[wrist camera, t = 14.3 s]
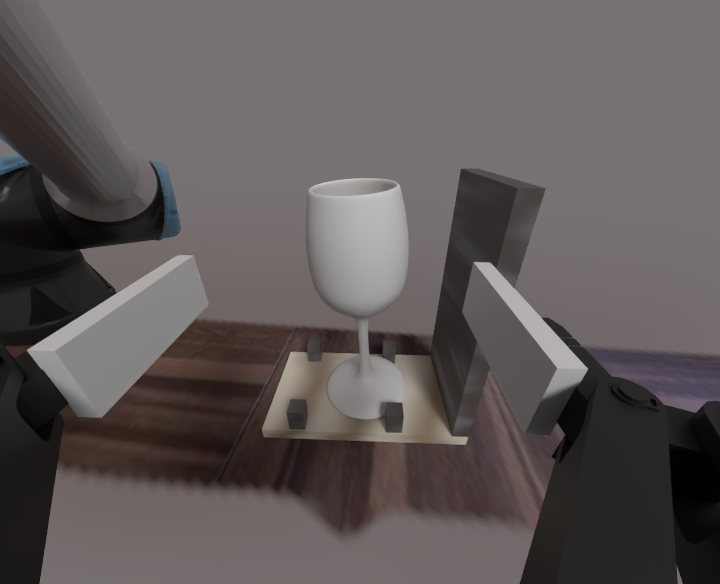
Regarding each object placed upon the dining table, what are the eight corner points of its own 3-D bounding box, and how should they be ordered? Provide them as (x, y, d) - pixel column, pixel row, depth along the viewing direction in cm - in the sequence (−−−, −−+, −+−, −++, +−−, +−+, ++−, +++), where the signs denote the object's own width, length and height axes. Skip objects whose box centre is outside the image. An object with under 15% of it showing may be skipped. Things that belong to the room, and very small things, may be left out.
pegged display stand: (263, 437, 27) (195, 185, 16) (291, 358, 37) (262, 167, 25) (465, 444, 26) (545, 188, 15) (440, 362, 36) (478, 168, 25)
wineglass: (418, 374, 32) (434, 178, 21) (380, 436, 26) (373, 206, 15) (356, 347, 36) (342, 174, 25) (310, 395, 30) (266, 194, 19)
